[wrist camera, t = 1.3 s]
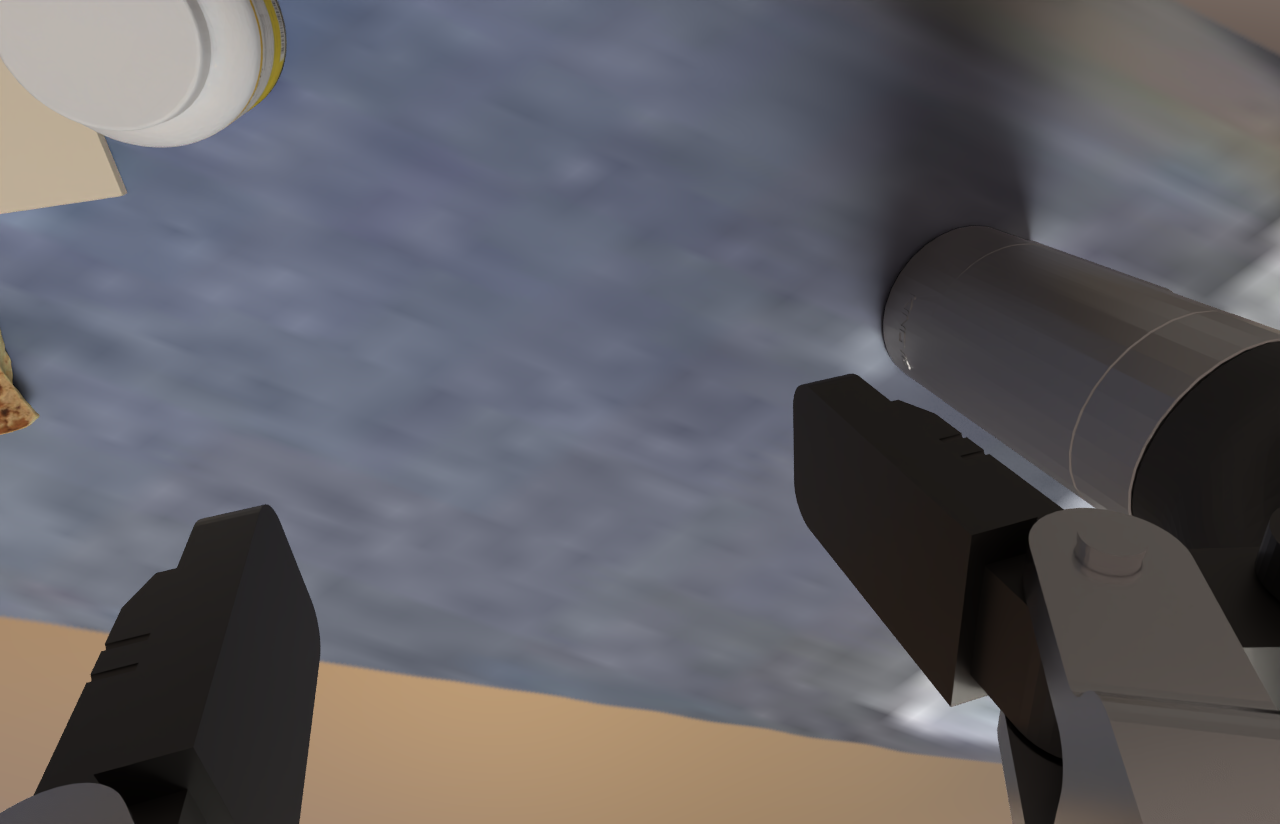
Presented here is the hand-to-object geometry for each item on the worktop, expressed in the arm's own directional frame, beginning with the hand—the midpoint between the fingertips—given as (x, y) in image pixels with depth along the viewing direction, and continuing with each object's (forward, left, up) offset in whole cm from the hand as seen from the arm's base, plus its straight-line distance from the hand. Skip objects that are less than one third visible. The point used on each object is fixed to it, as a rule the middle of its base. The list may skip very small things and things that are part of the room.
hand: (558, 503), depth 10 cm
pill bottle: (+8, -6, -28) cm, 30 cm away
